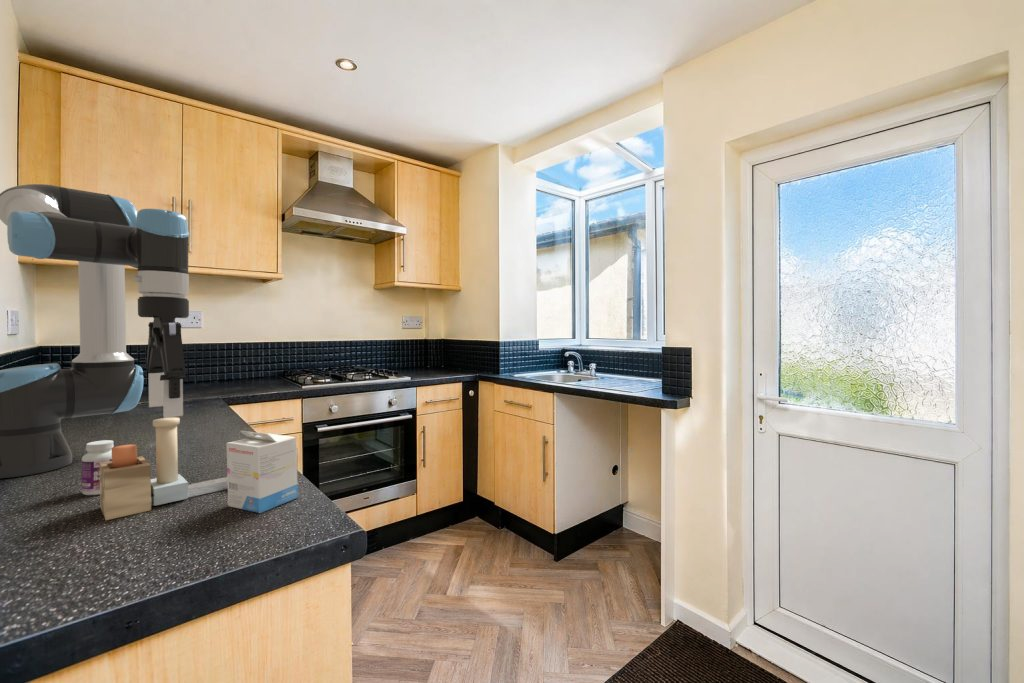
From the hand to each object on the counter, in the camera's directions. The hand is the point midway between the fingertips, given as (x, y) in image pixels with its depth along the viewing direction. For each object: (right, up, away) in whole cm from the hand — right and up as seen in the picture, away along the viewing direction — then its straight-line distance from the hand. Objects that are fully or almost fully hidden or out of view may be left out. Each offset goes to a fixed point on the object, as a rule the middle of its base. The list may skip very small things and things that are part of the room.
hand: (165, 411), depth 86 cm
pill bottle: (-16, -17, +5) cm, 24 cm away
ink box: (+19, -17, -1) cm, 25 cm away
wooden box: (-4, -17, -4) cm, 18 cm away
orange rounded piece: (-4, -9, -4) cm, 11 cm away
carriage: (0, -17, 0) cm, 17 cm away
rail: (+3, -16, +3) cm, 17 cm away
